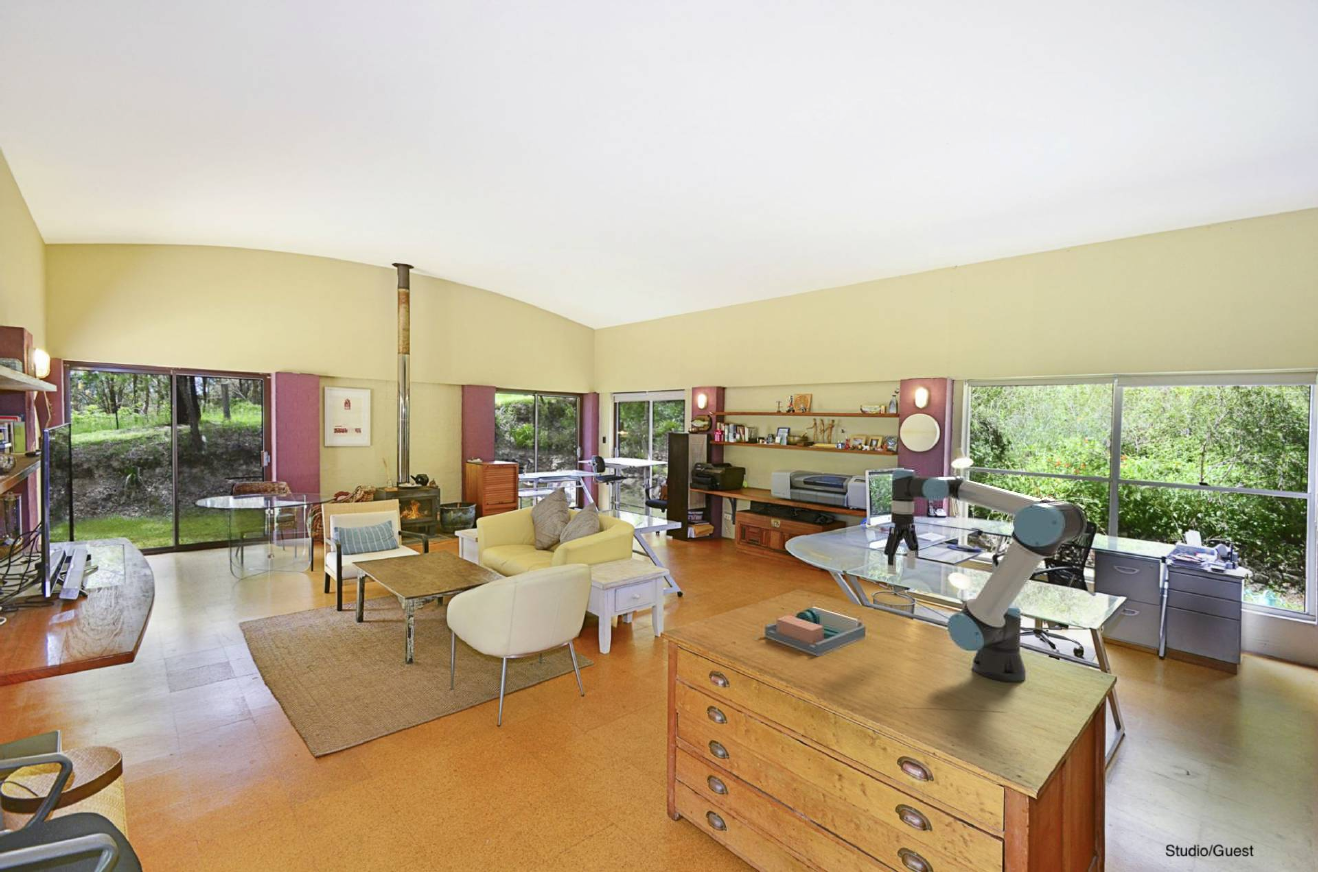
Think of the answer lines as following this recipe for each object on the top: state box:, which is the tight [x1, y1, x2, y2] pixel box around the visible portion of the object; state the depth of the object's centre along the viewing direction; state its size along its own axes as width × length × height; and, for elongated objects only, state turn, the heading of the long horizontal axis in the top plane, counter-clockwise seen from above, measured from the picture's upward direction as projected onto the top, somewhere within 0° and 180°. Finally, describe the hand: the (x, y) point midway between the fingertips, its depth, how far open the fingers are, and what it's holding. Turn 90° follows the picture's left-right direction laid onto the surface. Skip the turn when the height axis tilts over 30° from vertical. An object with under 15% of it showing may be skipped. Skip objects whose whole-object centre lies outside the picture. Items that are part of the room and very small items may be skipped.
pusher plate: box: [811, 606, 859, 632], centre depth 233 cm, size 1×20×6 cm, turn 40°
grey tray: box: [764, 615, 866, 657], centre depth 225 cm, size 30×24×6 cm
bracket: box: [795, 607, 843, 639], centre depth 227 cm, size 18×7×8 cm, turn 46°
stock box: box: [776, 614, 824, 646], centre depth 219 cm, size 7×16×7 cm, turn 40°
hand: (901, 571), depth 212 cm, fingers open, 13 cm apart
